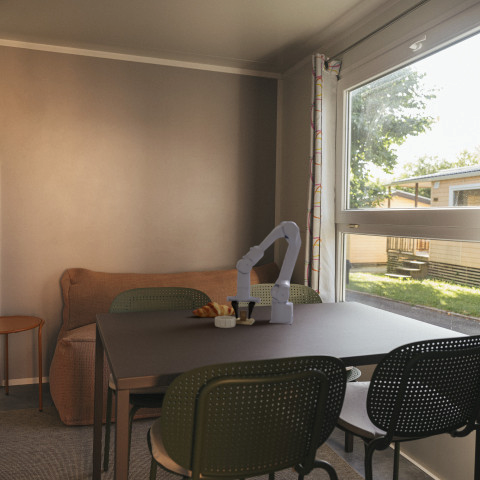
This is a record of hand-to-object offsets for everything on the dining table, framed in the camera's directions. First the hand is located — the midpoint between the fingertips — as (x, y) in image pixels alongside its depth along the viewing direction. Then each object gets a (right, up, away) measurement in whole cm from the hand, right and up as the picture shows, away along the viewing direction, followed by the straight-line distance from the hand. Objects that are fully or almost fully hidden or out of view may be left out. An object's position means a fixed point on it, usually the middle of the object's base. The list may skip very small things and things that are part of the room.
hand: (243, 318), depth 194 cm
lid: (0, -1, 0) cm, 1 cm away
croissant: (-13, -2, +13) cm, 18 cm away
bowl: (-8, -2, -7) cm, 10 cm away
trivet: (0, -2, 0) cm, 2 cm away
